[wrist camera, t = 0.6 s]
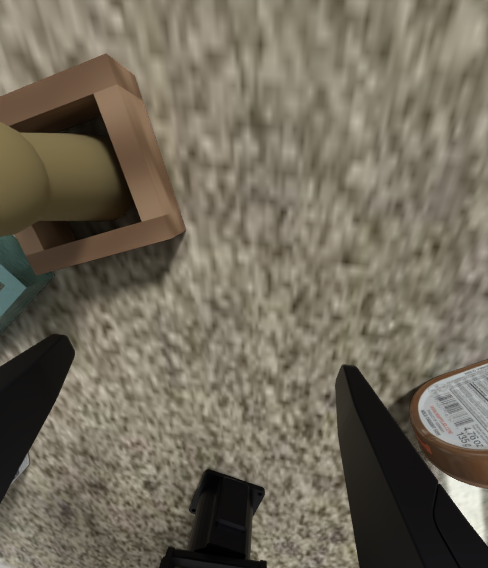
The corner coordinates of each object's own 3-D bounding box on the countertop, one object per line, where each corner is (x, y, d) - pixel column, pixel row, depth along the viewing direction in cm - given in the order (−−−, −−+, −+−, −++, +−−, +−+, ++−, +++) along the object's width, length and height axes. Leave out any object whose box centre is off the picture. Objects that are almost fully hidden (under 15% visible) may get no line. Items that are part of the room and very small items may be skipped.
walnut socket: (186, 230, 22) (171, 238, 19) (68, 262, 24) (36, 275, 21) (134, 75, 19) (106, 53, 16) (3, 125, 21) (-47, 115, 18)
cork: (128, 232, 23) (9, 274, 12) (54, 205, 23) (-131, 225, 12) (145, 151, 21) (20, 121, 10) (63, 120, 21) (-149, 58, 10)
